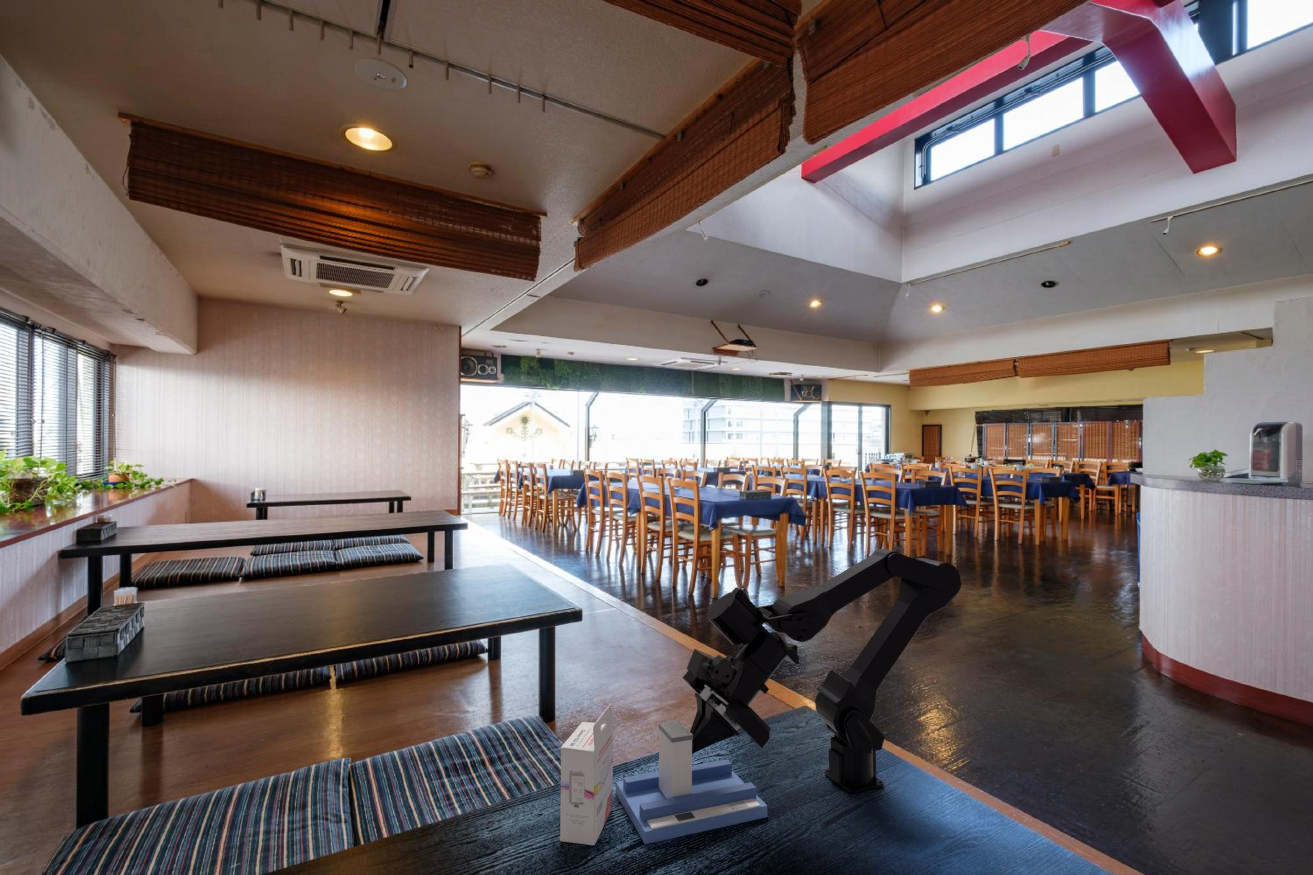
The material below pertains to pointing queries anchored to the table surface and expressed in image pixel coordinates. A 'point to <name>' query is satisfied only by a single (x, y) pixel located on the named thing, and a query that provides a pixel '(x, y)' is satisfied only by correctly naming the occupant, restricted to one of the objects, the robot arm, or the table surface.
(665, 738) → the switch tab
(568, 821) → the ink cartridge box
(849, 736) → the robot arm
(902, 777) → the table surface
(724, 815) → the blue railed tray
